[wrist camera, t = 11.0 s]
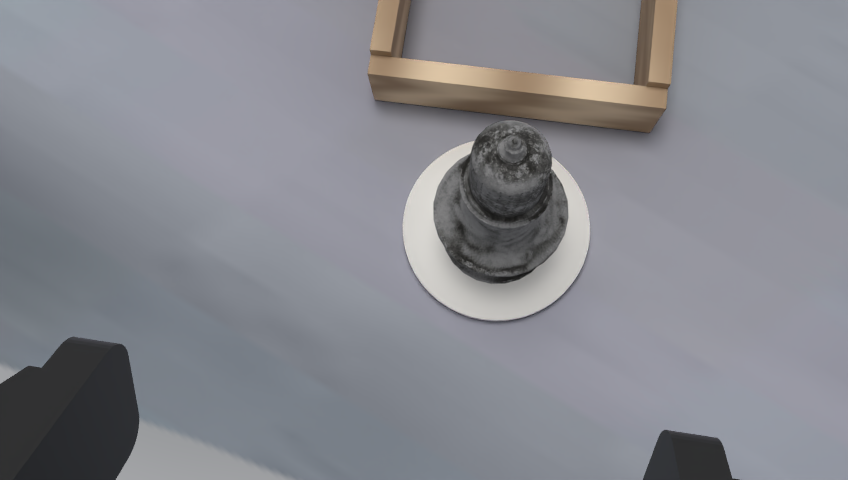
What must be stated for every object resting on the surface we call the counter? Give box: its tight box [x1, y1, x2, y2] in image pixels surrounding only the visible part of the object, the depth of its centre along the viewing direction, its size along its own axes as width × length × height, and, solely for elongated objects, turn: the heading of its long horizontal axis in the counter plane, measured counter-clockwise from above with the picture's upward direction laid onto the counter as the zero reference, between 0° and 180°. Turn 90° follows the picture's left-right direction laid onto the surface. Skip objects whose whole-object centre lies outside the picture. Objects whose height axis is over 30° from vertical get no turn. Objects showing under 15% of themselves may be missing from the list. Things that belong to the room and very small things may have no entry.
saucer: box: [403, 141, 590, 321], centre depth 36 cm, size 9×9×1 cm
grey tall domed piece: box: [433, 120, 569, 284], centre depth 30 cm, size 6×6×12 cm
